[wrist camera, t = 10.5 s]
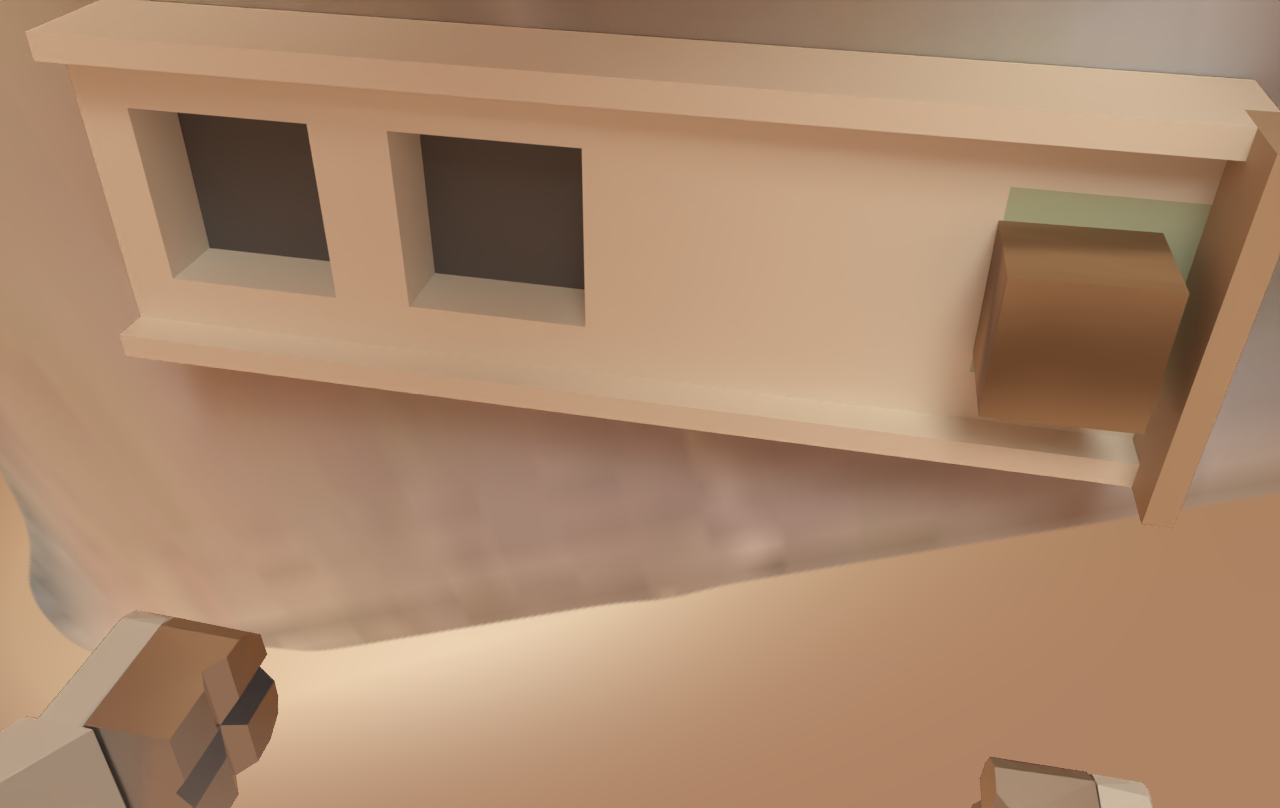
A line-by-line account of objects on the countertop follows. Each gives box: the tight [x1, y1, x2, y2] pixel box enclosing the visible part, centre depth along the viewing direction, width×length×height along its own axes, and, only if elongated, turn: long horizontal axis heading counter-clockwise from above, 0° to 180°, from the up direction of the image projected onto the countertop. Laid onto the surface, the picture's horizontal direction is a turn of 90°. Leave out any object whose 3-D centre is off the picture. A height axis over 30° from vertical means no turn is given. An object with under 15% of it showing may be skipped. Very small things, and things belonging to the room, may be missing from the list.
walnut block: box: [973, 220, 1189, 434], centre depth 34 cm, size 5×5×4 cm
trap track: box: [25, 0, 1280, 528], centre depth 38 cm, size 13×40×6 cm, turn 89°
